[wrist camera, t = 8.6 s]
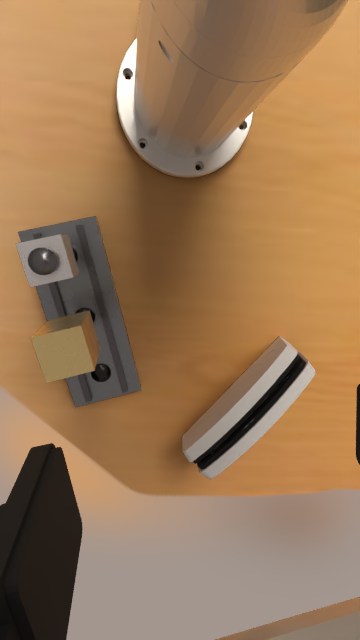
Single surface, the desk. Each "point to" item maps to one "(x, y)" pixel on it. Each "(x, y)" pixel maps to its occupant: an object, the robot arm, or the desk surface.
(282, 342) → the white black arched block
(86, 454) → the desk surface
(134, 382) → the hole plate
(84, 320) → the tan square-headed peg
